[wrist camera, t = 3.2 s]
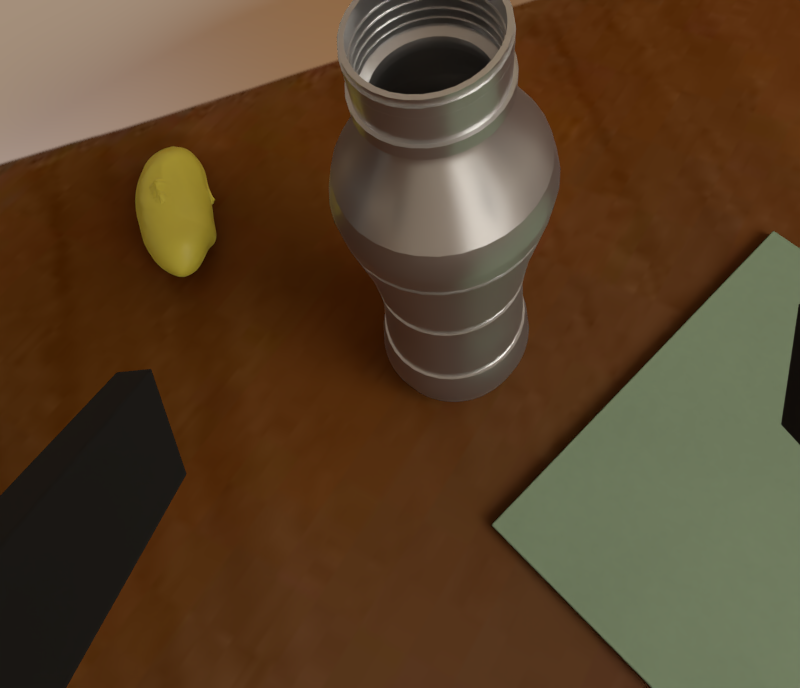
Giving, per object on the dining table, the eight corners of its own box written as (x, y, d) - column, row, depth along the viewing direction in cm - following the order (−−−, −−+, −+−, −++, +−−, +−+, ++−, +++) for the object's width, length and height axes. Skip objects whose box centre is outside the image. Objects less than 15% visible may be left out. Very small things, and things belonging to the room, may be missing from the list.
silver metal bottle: (367, 335, 32) (210, 18, 14) (476, 264, 33) (469, -134, 14) (437, 439, 30) (365, 230, 11) (553, 361, 31) (665, 41, 12)
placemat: (491, 525, 29) (491, 524, 28) (770, 234, 32) (773, 230, 31) (760, 798, 24) (764, 801, 24) (1056, 430, 27) (1064, 428, 27)
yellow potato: (223, 162, 37) (195, 118, 33) (228, 284, 34) (198, 251, 31) (155, 175, 37) (120, 133, 34) (154, 298, 35) (116, 266, 31)
